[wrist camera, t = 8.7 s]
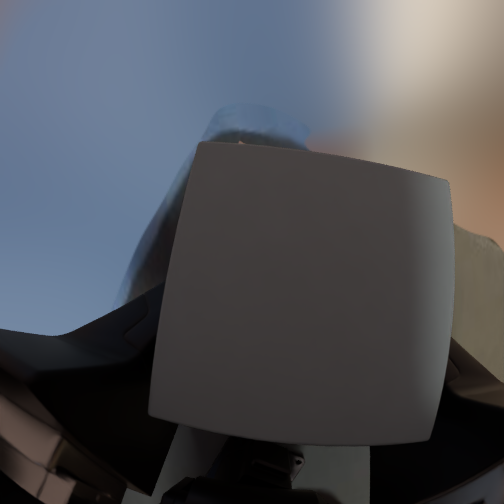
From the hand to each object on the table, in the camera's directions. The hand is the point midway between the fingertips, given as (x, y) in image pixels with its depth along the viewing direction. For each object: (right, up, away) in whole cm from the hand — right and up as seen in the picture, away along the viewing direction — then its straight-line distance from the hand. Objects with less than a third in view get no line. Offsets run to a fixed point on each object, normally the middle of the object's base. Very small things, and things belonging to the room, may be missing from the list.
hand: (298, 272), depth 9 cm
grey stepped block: (+1, -1, +7) cm, 7 cm away
